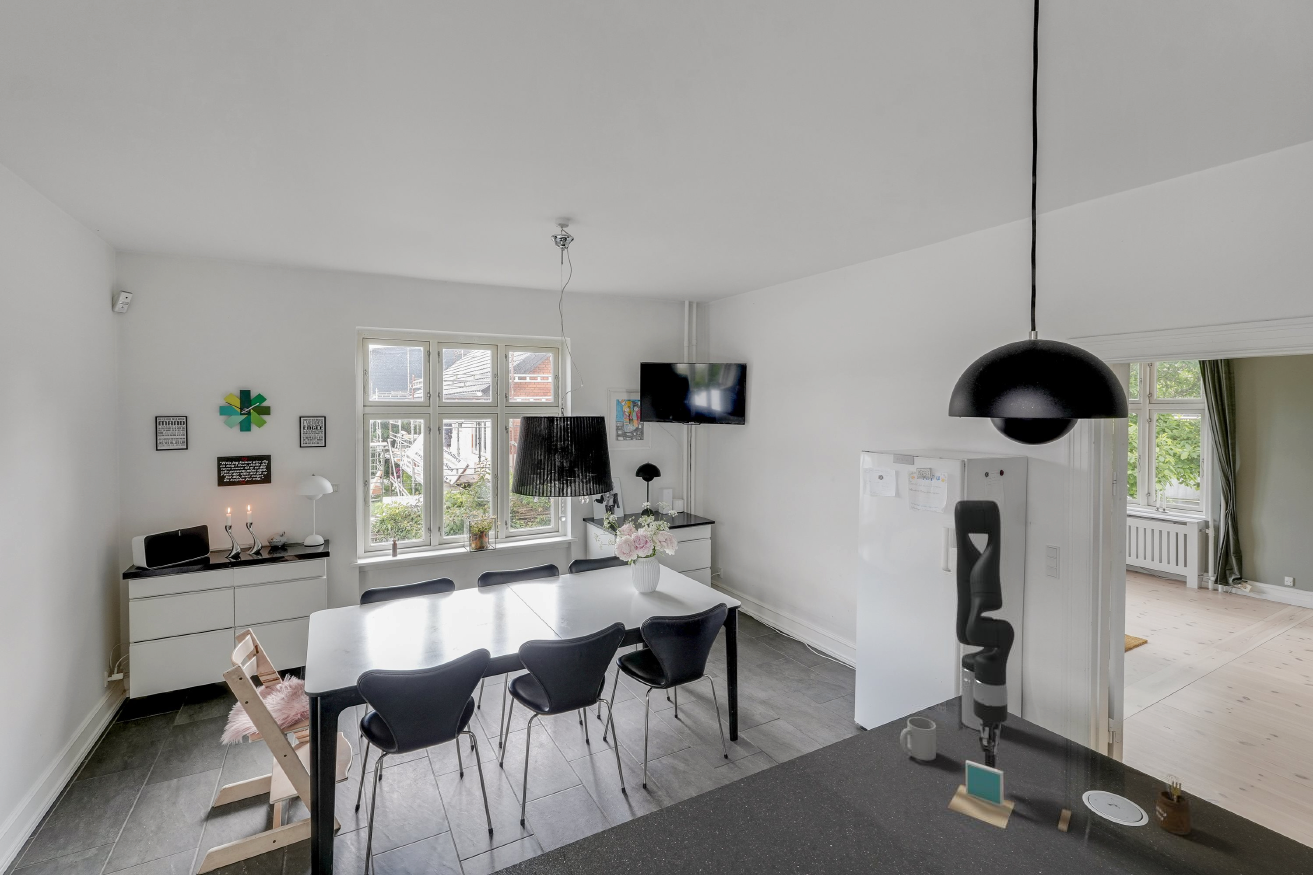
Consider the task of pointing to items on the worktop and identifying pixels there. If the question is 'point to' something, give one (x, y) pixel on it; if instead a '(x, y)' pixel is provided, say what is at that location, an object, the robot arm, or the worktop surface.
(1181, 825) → the utensil holder
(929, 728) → the cup
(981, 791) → the tile
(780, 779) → the worktop surface
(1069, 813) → the tan tapered flat part
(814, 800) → the worktop surface
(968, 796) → the board
